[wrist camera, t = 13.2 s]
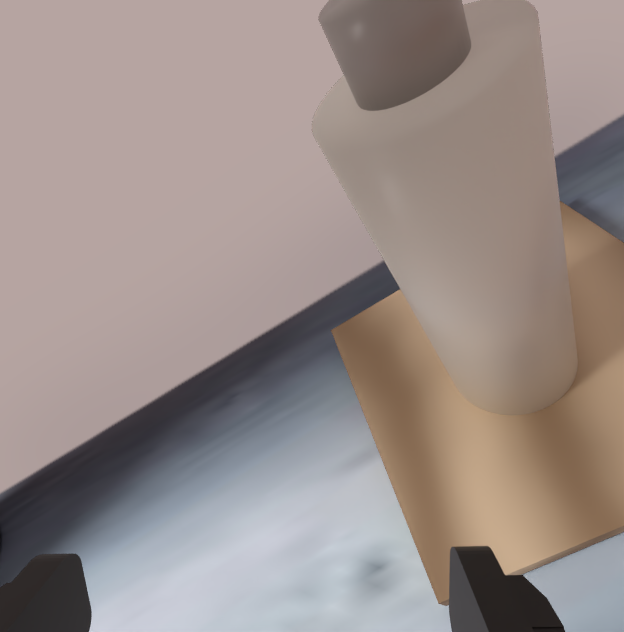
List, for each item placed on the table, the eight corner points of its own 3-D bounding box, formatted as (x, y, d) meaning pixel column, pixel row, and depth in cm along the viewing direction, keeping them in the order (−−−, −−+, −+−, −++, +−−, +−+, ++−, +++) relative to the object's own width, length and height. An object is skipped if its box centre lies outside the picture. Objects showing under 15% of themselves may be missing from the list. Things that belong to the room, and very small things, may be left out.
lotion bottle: (437, 402, 20) (230, 94, 9) (463, 310, 22) (322, -23, 11) (569, 427, 16) (488, -19, 6) (584, 316, 18) (546, -154, 8)
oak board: (446, 606, 16) (438, 603, 15) (338, 338, 27) (330, 330, 26) (872, 428, 13) (886, 415, 12) (556, 210, 24) (554, 197, 23)
